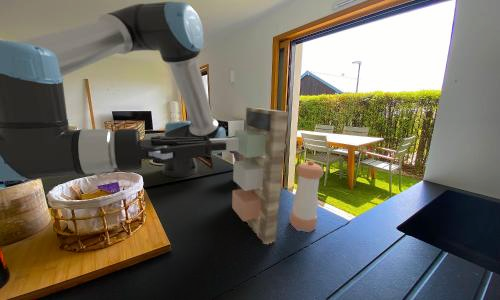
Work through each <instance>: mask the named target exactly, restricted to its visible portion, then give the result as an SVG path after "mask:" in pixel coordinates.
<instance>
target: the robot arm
mask: <svg viewBox="0 0 500 300" xmlns="http://www.w3.org/2000/svg"><path fill="white" fill-rule="evenodd" d="M204 32H205V31H204V28H203V24H202V21H201V18H200V17H199V14H198V13H197V12H196V10H195V9H194V8H193V7H192V6H191V5H190V4H188V3H186V2H185V1H173V0H171V1H162V2H161V1H160V2H151V3H149V2H148V3H136V4H132V5H129V6H126V7H124V8H121V9H117V10H114V11H111V12H109V13H103V14H101V15H99V17H98V20H97V21H93V22H88V23H85V24H82V25H77V26H74V27H70V28H69V27H68V28H66V29H62V30H58V31H53V32H51V33H50V32H49V33H45V34H42V35H38V36H35V37H30V38H27V39H23V40H18V41H11V40H3V39H2V40H1V39H0V182H12V181H37V180H43V179H51V178H60V177H61V178H62V177H70V176H79V175H92V174H94V175H95V176H97V177H100V176H101V175H102V174H103V173H112V172H114V171H115V170H116V169H117V170H118V171H119V172H127V171H129V172H130V171H138V170H141V169H142V166H143V164H142V163H143V162H142V160H150V161H151V160H152V161H153V162H159V161H160V164H163V165H162V169H161V170H162V175H164V176H166V177H170V178H185V177H190V176H193V175H195V174H196V173H197V172H198V165H197V162H196V158H204V157H209V158H210V157H212V155H218V154H220V153H222V152H223V153H224V152H232V151H238V150H239V139H238V138H235V137H227V135H226V134H227V133H226V129H225V128H224V127H223V126H219V122H218V120H217V119H216V118H213V115H212V110H211V106H210V102H209V99H208V95H207V92H206V87H205V84H204V83H205V82H204V80H203V77H202V76H203V75H202V71H201V69H200V68H201V67H200V65H199V61H198V59H199V57H200V55H201V49H202V48H203V47H204V42H205V39H204V37H205V33H204ZM136 51H138V52H139V51H156V52H157V51H158V52H159V55H160V57H161V59H162V61H163V62H164V63H166V64H168V65H169V66H170V69H171V73H172V75H173V77H174V79H175V82H176V86H177V88H178V90H179V93H180V96H181V99H182V102H183V105H184V108H185V110H186V113H187V115H188V119H189V120H182V121H172V122H167V123H166V124H165V126H164V136H163V135H162V136H161V135H157V136H151V137H150V139H143V140H142V139H141V134H140V131H139V129H136V128H131V129H130V128H121V129H120V128H118V129H116V130H115V131H114V132H113V131H112V130H111V129H110V128H100V129H99V128H95V129H94V128H93V129H92V128H91V129H90V128H89V129H88V128H87V129H86V128H85V129H70V126H69V125H70V124H69V119H68V114H67V106H66V105H67V104H66V98H65V90H64V77H65V76H67V75H68V74H69V75H70V74H71V73H73V72H76V71H79V70H81V69H84V68H85V67H87V66H90V65H93V64H95V63H97V62H99V61H101V60H104V59H106V58H109V57H110V56H113V55H116V54H118V55H126V54H129V53H132V52H136Z"/></svg>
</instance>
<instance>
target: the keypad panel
mask: <svg viewBox="0 0 500 300" xmlns="http://www.w3.org/2000/svg"><path fill="white" fill-rule="evenodd" d="M288 118H289V111H285V110H278V109H268V108H263V107H262V108H259V107H245V124H244V125H245V126H244V128H245V129H244V130H254V131H257V132H260V133H263V134H266V145H265V156H260V157H249V158H246V157H245V156H244V161H245V160H252V161H254V162H255V163H257V164H259V165H260V166H262V167H264V172H263V185H262V188H259V189H253V190H252V191H253V192H254V193H255V194H257V195H258V196H259V197H260V198H261V211H260V217H259V218H255V219H251V220H247V221H245V222H247V223H248V224H247V225H248V226H249V227H250V228H252V229H251V230H252V231H253V232H254V233H256V234H257V235H256V234H255V235H256V236H257V238H259V239H261V240H262V241H263V242H262V241H261V240H260V241H261V242H262V244H263V245H264V244H267V245H270V244H273V243H275V242H276V238H277V227H278V219H279V218H278V216H279V207H280V200H281V199H280V198H281V187H282V179H283V177H282V176H283V169H284V168H283V167H284V157H285V147H286V139H287V128H288V127H287V126H288ZM274 241H275V242H274ZM272 242H273V243H272ZM269 243H270V244H269Z"/></svg>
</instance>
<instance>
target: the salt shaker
mask: <svg viewBox="0 0 500 300" xmlns="http://www.w3.org/2000/svg"><path fill="white" fill-rule="evenodd" d="M295 171H296V173H297V175H298V176H297V177H298V179H297V186H296V190H295V193H294V197H293V203H292V209H291V211H290V215H289V216H290V218H289V219H290V220H289V224H290V223H291V225H292V226H294V227H295V228H297V229H299V230H304V231H311V230H313V229H315V230H316V228H317V221H318V216H317V213H318V211H317V210H318V206H319V202H318V201H319V197H318V192H319V183H320V179H321V178H322V177H323V175H324V169H323V168H322V166H321V165H320V164H318V163H315V162H314V161H313V160H307V161H306V162H300V163H299V164H298V165H297V166H296V170H295ZM291 225H290V226H291ZM292 226H291V227H292ZM315 227H316V228H315Z"/></svg>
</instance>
